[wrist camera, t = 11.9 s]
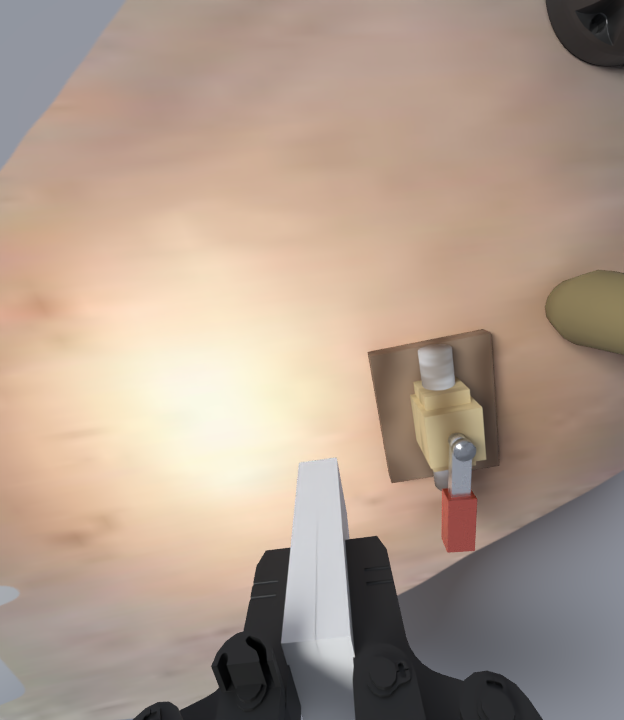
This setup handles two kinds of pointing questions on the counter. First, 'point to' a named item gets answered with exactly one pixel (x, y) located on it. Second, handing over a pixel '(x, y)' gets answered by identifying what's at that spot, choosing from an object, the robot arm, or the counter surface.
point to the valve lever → (459, 497)
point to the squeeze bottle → (590, 310)
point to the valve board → (401, 386)
